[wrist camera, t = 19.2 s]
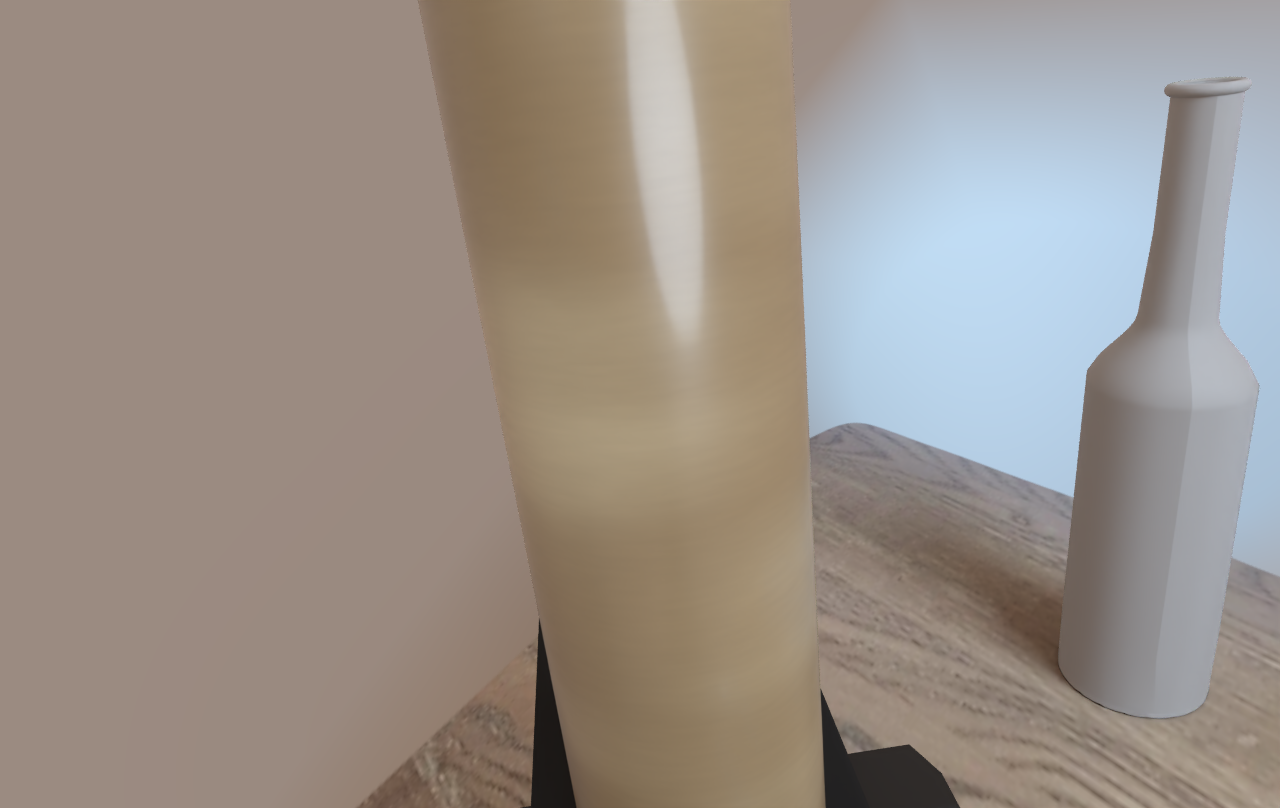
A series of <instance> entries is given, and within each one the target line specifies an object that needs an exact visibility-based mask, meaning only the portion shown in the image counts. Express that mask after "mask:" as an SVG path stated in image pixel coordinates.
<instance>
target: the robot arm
mask: <svg viewBox="0 0 1280 808" xmlns="http://www.w3.org/2000/svg"><path fill="white" fill-rule="evenodd" d="M820 691H821V688H820ZM821 714H822V737H823V760H824V783H825V806H826V808H960V807H959V805H958V803H957V801H956V799H955V798H954V796H953V794H952V792H951V790H950V788H949V786H948V784H947V783H946V781H945V779H944V777H943V775H942V773H941V772H940V771H938V770H937V769H936V768H935V767H934V766H933V765H932V764H931V763H929V762H928V761H927V760H926V759H925V758H924V757H923V756H922V755H920V754H919V753H918V752H917V751H916V750H915V749H914V748H913V747H911V746H910V745H903V746H896V747H890V748H883V749H877V750H870V751H864V752H858V753H851V754H847V751H846V749H845V746H844V744H843V742H842V739H841V737H840V734H839V732H838V729H837V727H836V725H835V722H834V720H833V717H832V715H831V712H830V710H829V708H828V705H827V703H826V700H825V698H824V695H823V693H822V691H821ZM522 808H577V807H576V802H575V797H574V792H573V787H572V782H571V776H570V771H569V766H568V761H567V756H566V751H565V746H564V741H563V736H562V731H561V726H560V721H559V715H558V710H557V705H556V700H555V695H554V690H553V685H552V680H551V675H550V670H549V665H548V659H547V654H546V649H545V644H544V639H543V634H542V629H541V624H540V619H539V634H538V657H537V680H536V703H535V726H534V749H533V773H532V796H531V806H528V807H522Z"/></svg>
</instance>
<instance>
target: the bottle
mask: <svg viewBox="0 0 1280 808" xmlns="http://www.w3.org/2000/svg"><path fill="white" fill-rule="evenodd" d="M1251 85H1252V82H1251V80H1250V79H1248V78H1246V77H1218V78H1204V79H1194V80H1186V81H1179V82H1174V83H1171V84H1169V85H1167V86H1166V87H1165V90H1164V92H1165V94H1166V95H1167V96H1169V97H1170V105H1169V113H1168V120H1167V128H1166V136H1165V145H1164V152H1163V160H1162V168H1161V176H1160V183H1159V191H1158V199H1157V207H1156V216H1155V223H1154V231H1153V237H1152V242H1151V247H1150V252H1149V257H1148V263H1147V268H1146V273H1145V278H1144V284H1143V289H1142V294H1141V300H1140V305H1139V310H1138V314H1137V317H1136V319H1135V321H1134V322H1133V324H1132V325H1131V326H1130V327H1129V328H1128V329H1127V330H1126V331H1125V332H1124V333H1123V334H1122V335H1121V336H1120V337H1118V338H1117V339H1116V340H1115V341H1114V342H1113V343H1111V344H1110V345H1109V346H1108V347H1107V348H1106V349H1104V350H1103V351H1102V352H1101V353H1100V354H1099V355H1098V357H1097V358H1096V359H1095V361H1094V362H1093V363H1092V364H1091V366H1090V367H1089V368H1088V370H1087V375H1086V385H1085V395H1084V404H1083V414H1082V423H1081V433H1080V442H1079V452H1078V463H1077V472H1076V481H1075V490H1074V500H1073V510H1072V519H1071V529H1070V538H1069V548H1068V558H1067V567H1066V577H1065V586H1064V596H1063V607H1062V618H1061V630H1060V642H1059V650H1058V664H1059V667H1060V670H1061V671H1062V673H1063V675H1064V677H1065V678H1066V679H1067V681H1068V682H1069V683H1070V684H1071V685H1072V686H1073V687H1074V688H1075V689H1076V690H1078V691H1079V692H1081V693H1082V694H1083V695H1084V696H1086V697H1087V698H1089V699H1090V700H1092V701H1094V702H1097V703H1099V704H1101V705H1103V706H1104V707H1106V708H1109V709H1112V710H1114V711H1118V712H1123V713H1126V714H1128V715H1133V716H1138V717H1150V718H1169V717H1178V716H1181V715H1185V714H1187V713H1189V712H1192V711H1194V710H1196V709H1197V708H1198V707H1200V706H1201V705H1202V704H1203V703H1204V701H1205V699H1206V696H1207V694H1208V691H1209V683H1210V677H1211V672H1212V667H1213V662H1214V657H1215V651H1216V646H1217V641H1218V636H1219V630H1220V624H1221V618H1222V612H1223V605H1224V599H1225V593H1226V587H1227V581H1228V575H1229V569H1230V563H1231V557H1232V551H1233V544H1234V538H1235V533H1236V527H1237V521H1238V514H1239V508H1240V502H1241V496H1242V490H1243V484H1244V478H1245V472H1246V466H1247V460H1248V454H1249V448H1250V442H1251V436H1252V430H1253V423H1254V417H1255V411H1256V405H1257V399H1258V393H1259V383H1258V381H1257V379H1256V377H1255V375H1254V373H1253V371H1252V369H1251V367H1250V365H1249V363H1248V361H1247V360H1246V359H1245V357H1244V356H1243V355H1242V354H1241V353H1240V352H1239V350H1238V349H1237V348H1236V347H1235V346H1234V344H1233V343H1232V342H1231V341H1230V340H1229V338H1228V337H1227V336H1226V334H1225V333H1224V331H1223V330H1222V328H1221V326H1220V321H1219V312H1220V298H1221V285H1222V270H1223V257H1224V244H1225V231H1226V224H1227V217H1228V210H1229V203H1230V196H1231V188H1232V181H1233V173H1234V167H1235V160H1236V153H1237V144H1238V138H1239V131H1240V124H1241V117H1242V110H1243V102H1244V94H1245V91H1246V90H1248V89H1249V88H1250V87H1251Z"/></svg>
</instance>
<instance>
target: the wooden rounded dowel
mask: <svg viewBox="0 0 1280 808" xmlns="http://www.w3.org/2000/svg"><path fill="white" fill-rule="evenodd" d="M418 3H419V9H420V14H421V19H422V24H423V29H424V34H425V39H426V44H427V49H428V54H429V59H430V64H431V70H432V74H433V79H434V85H435V90H436V95H437V100H438V105H439V110H440V115H441V120H442V125H443V131H444V136H445V141H446V145H447V151H448V156H449V161H450V166H451V171H452V176H453V181H454V186H455V191H456V197H457V201H458V207H459V212H460V217H461V222H462V227H463V232H464V237H465V242H466V248H467V252H468V257H469V262H470V267H471V273H472V277H473V283H474V288H475V293H476V298H477V303H478V308H479V313H480V319H481V323H482V329H483V334H484V338H485V344H486V349H487V354H488V359H489V364H490V370H491V375H492V380H493V385H494V390H495V395H496V400H497V405H498V410H499V415H500V420H501V425H502V431H503V436H504V440H505V446H506V451H507V456H508V461H509V466H510V471H511V476H512V481H513V486H514V492H515V497H516V501H517V507H518V512H519V517H520V522H521V527H522V532H523V537H524V542H525V548H526V552H527V558H528V563H529V567H530V573H531V577H532V583H533V588H534V593H535V598H536V603H537V609H538V614H539V619H540V624H541V629H542V634H543V639H544V644H545V649H546V654H547V659H548V665H549V670H550V675H551V680H552V685H553V690H554V695H555V700H556V705H557V710H558V715H559V721H560V726H561V731H562V736H563V741H564V746H565V751H566V756H567V761H568V766H569V771H570V776H571V782H572V787H573V792H574V797H575V802H576V807H577V808H826V806H825V783H824V760H823V737H822V714H821V691H820V669H819V646H818V623H817V600H816V577H815V554H814V531H813V508H812V485H811V462H810V439H809V418H808V394H807V374H806V373H807V372H806V349H805V325H804V304H803V303H804V302H803V279H802V258H801V257H802V256H801V233H800V210H799V189H798V188H799V187H798V164H797V143H796V121H795V96H794V73H793V50H792V28H791V4H790V0H418Z"/></svg>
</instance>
